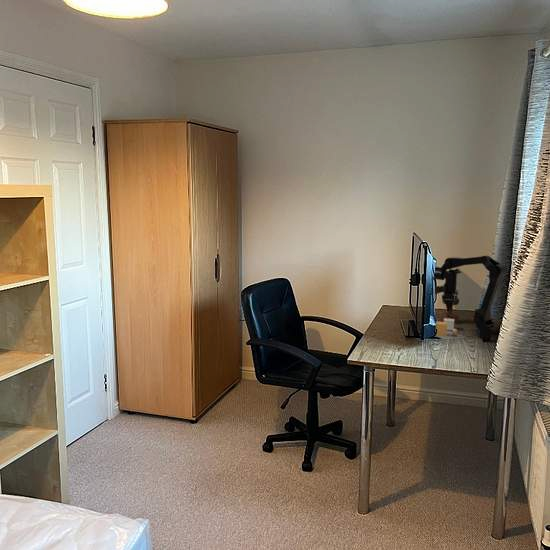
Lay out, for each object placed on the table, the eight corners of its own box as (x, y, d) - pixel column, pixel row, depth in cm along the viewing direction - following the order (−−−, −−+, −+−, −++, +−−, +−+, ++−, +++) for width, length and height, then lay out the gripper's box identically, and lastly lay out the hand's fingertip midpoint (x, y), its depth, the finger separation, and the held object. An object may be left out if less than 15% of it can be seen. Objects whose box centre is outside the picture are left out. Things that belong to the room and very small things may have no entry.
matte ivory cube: (453, 329, 304) (454, 319, 303) (453, 332, 299) (454, 321, 298) (443, 328, 306) (444, 318, 305) (442, 331, 301) (443, 320, 300)
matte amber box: (446, 333, 290) (447, 322, 289) (446, 336, 285) (447, 324, 284) (435, 332, 292) (436, 321, 291) (435, 335, 287) (436, 323, 286)
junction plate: (466, 339, 284) (466, 330, 284) (444, 341, 279) (444, 332, 278) (447, 332, 297) (448, 324, 296) (426, 334, 291) (426, 326, 291)
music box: (458, 325, 316) (457, 290, 313) (438, 324, 320) (437, 289, 318) (460, 319, 330) (460, 286, 327) (441, 319, 334) (440, 286, 332)
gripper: (437, 278, 307) (436, 306, 309) (432, 282, 290) (431, 312, 292) (459, 279, 302) (457, 307, 304) (454, 283, 285) (453, 313, 287)
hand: (449, 310), depth 297 cm, fingers open, 9 cm apart
